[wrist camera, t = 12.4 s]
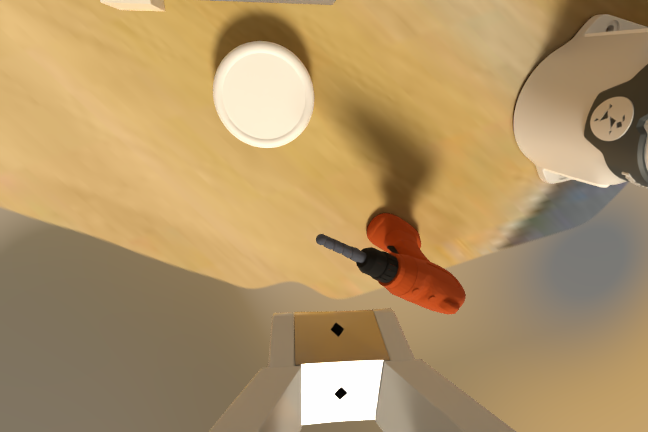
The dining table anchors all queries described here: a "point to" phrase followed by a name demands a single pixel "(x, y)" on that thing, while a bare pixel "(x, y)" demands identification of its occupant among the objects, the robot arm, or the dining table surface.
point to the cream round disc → (263, 94)
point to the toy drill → (402, 265)
